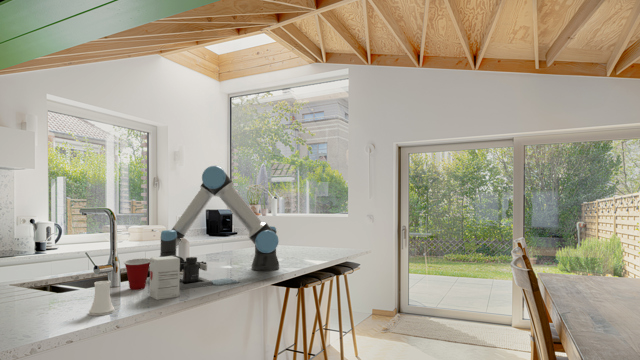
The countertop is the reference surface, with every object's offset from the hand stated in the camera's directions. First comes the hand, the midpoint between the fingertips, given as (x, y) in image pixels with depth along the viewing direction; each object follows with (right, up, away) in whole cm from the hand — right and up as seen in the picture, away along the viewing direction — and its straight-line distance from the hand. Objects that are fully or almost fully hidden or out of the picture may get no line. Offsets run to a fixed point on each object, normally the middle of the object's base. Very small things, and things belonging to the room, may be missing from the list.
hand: (191, 269), depth 181 cm
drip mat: (+12, -7, +6) cm, 15 cm away
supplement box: (-4, -6, -22) cm, 23 cm away
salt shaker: (-16, -5, -46) cm, 48 cm away
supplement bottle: (-1, -7, +1) cm, 7 cm away
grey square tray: (-1, -7, +1) cm, 7 cm away
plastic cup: (-21, -7, -8) cm, 23 cm away
